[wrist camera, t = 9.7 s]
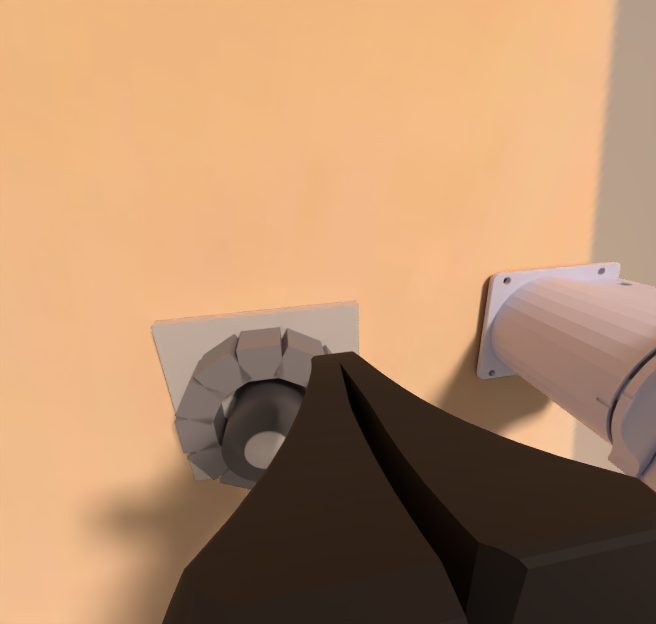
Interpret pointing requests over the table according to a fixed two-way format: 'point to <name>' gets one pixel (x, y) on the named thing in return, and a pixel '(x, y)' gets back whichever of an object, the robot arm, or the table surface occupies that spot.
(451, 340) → the table surface
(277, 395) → the grey cylinder
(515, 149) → the table surface
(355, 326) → the segmented ring plate
